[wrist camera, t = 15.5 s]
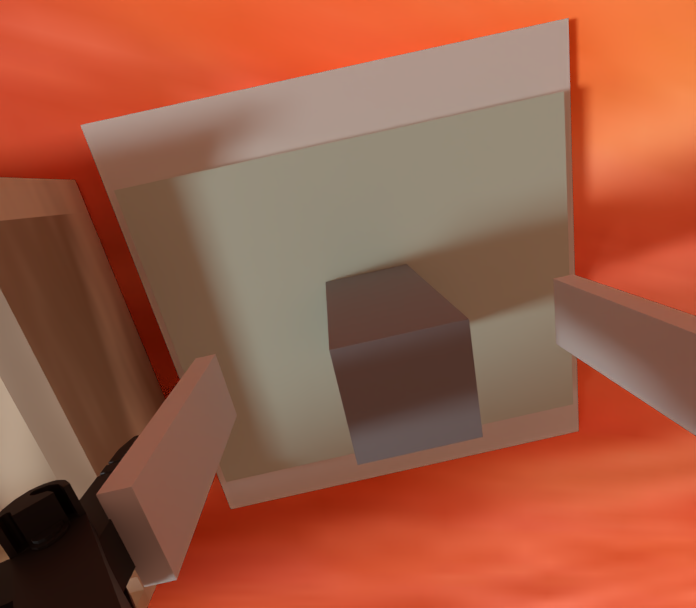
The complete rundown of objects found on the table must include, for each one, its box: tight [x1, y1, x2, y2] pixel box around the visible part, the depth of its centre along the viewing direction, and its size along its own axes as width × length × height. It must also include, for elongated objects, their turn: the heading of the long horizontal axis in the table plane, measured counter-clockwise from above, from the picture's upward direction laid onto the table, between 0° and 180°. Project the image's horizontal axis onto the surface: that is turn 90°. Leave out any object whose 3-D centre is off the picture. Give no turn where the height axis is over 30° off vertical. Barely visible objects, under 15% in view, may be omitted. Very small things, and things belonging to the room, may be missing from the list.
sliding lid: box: [114, 91, 573, 482], centre depth 15 cm, size 20×16×9 cm
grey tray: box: [81, 18, 579, 509], centre depth 20 cm, size 22×22×1 cm
